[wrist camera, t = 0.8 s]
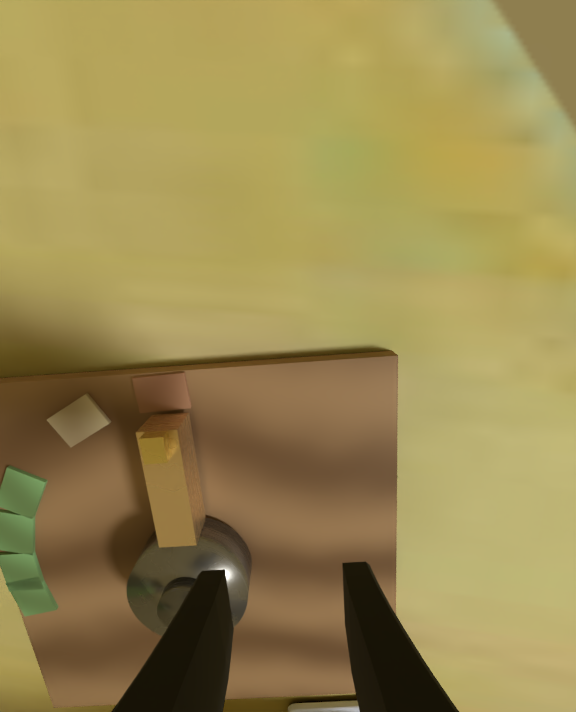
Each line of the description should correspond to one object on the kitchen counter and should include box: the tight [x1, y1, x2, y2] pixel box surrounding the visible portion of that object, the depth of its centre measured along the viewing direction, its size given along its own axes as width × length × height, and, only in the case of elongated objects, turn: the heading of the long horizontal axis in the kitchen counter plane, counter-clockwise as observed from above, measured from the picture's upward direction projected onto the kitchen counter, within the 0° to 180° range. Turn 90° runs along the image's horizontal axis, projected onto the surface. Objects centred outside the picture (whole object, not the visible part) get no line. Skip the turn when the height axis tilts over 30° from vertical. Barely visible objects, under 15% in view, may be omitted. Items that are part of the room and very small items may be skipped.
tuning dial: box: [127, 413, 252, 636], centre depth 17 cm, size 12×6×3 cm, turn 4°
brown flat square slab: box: [0, 351, 398, 708], centre depth 19 cm, size 22×22×1 cm
